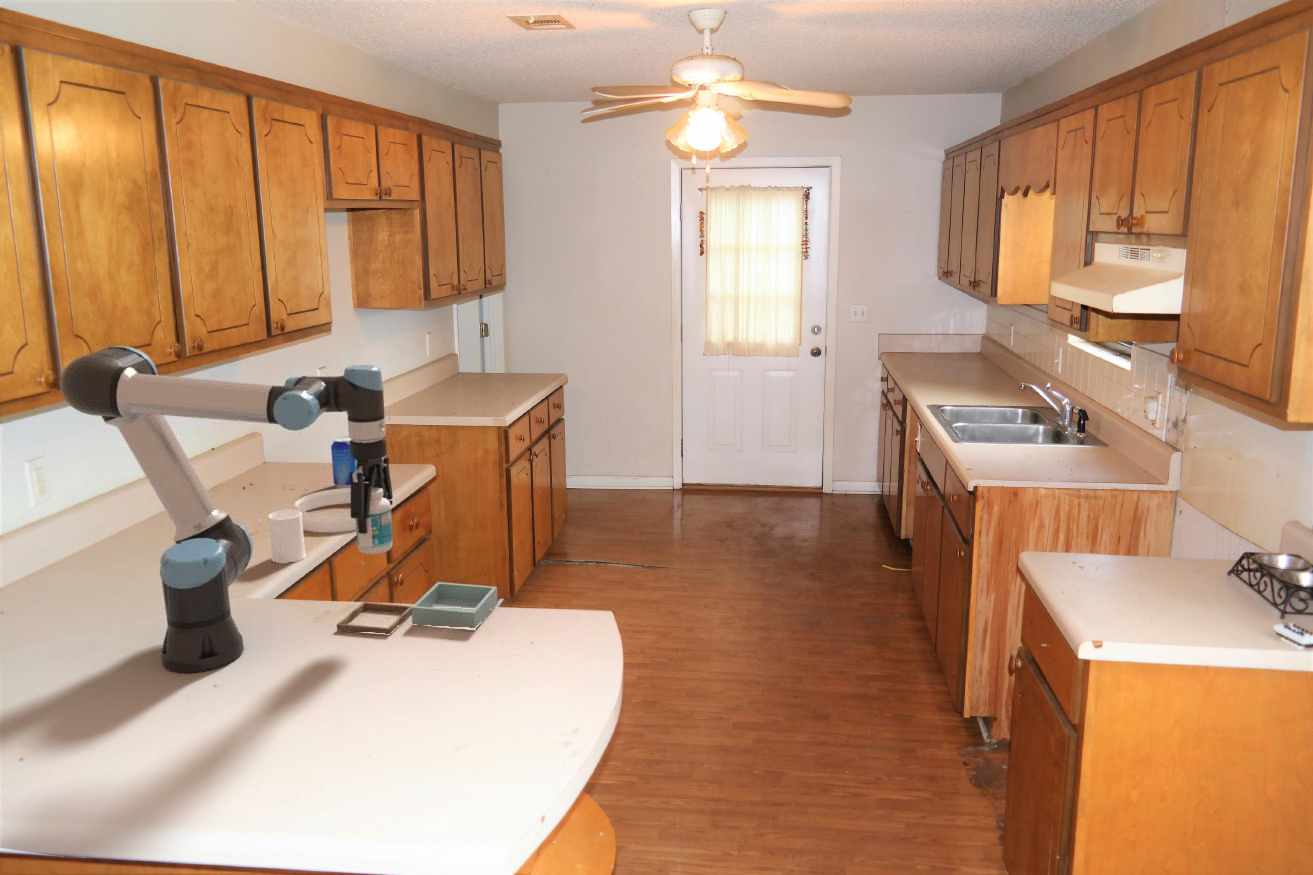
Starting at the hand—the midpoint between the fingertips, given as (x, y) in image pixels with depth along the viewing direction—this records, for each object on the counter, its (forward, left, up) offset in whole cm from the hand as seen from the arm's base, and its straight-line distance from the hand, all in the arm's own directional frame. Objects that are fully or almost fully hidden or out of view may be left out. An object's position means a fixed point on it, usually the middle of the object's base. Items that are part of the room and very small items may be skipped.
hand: (374, 539), depth 202 cm
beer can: (+95, +58, -19) cm, 113 cm away
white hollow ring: (+65, +44, -20) cm, 81 cm away
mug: (+30, +41, -19) cm, 54 cm away
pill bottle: (0, 0, -2) cm, 2 cm away
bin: (+7, -15, -19) cm, 25 cm away
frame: (0, +1, -19) cm, 19 cm away
